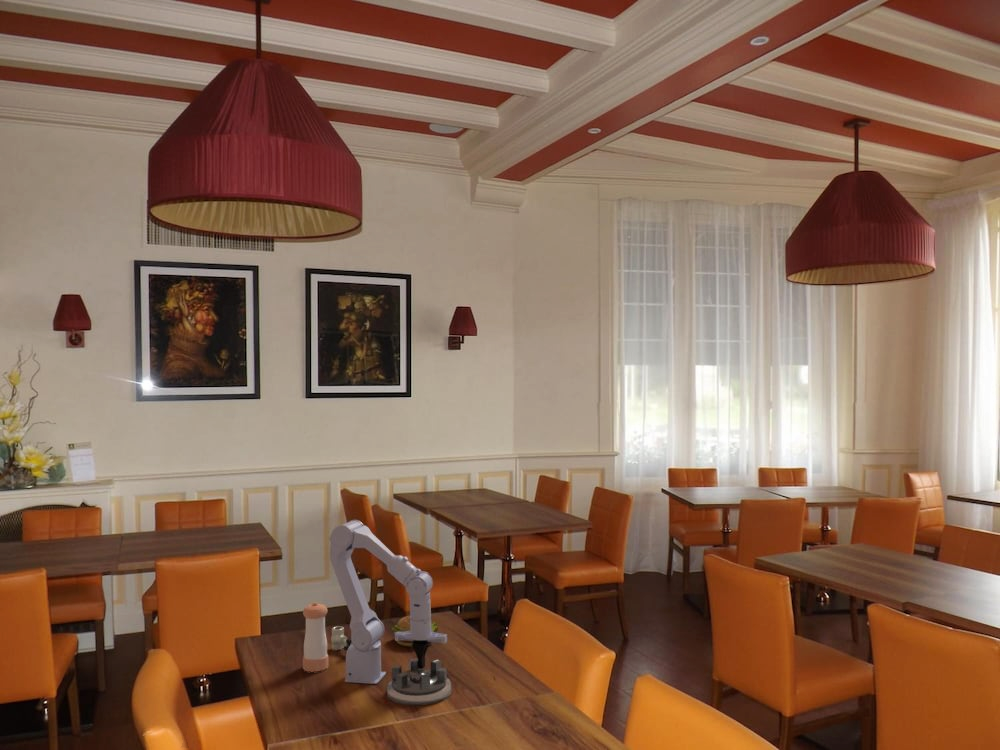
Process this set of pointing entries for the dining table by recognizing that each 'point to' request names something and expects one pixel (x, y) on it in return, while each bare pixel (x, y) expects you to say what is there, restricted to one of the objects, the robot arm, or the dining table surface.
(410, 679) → the finned metal hub
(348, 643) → the valve
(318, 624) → the salt shaker
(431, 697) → the cap base
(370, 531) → the robot arm
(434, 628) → the food
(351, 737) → the dining table surface
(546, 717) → the dining table surface
